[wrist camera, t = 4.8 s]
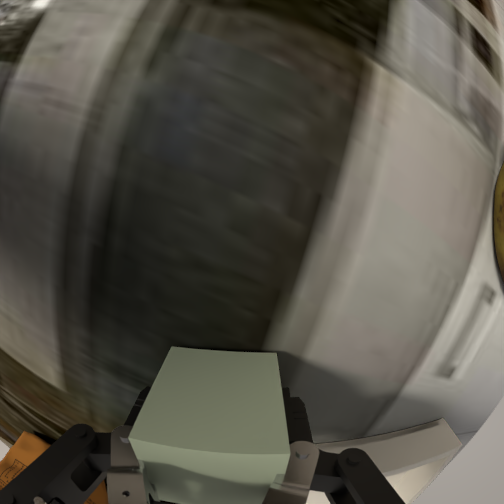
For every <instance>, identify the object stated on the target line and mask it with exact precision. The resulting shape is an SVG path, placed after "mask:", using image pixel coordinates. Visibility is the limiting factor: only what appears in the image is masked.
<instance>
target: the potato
mask: <svg viewBox="0 0 504 504" xmlns="http://www.w3.org/2000/svg"><path fill="white" fill-rule="evenodd" d="M494 238H495V247H496V255H497V260H498V264H499V268H500V272H501V275H502V279H503V282H504V163H503V165H502V167H501V170H500V173H499V176H498V179H497V183H496V188H495V199H494Z"/></svg>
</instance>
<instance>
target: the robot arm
mask: <svg viewBox="0 0 504 504" xmlns="http://www.w3.org/2000/svg"><path fill="white" fill-rule="evenodd" d="M151 388H152V387H146V388H145V389H144V390H142V391H141V392H140V394H139V396H138V398H137V400H136V402H135V405H134V406H133V408H132V410H131V412H130V414H129V416H128V418H127V420H126V422H125V424H124V425H123V426H119V427H117V428H115V429H114V430H113V431H112V432H111V433H97V432H94V430H93V428H92V427H90V426H89V425H86V424H76V425H74V426H72V427H71V428H70V429H69V430H67V431H66V432H65V433H64V434H63V435H62V436H61V437H60V438H59V439H58V440H56V441H55V442H54V443H53V444H52V445H51V446H50V447H49V448H48V449H46V450H45V451H44V452H43V453H42V454H41V455H40V456H39V457H38V458H36V459H35V460H34V461H33V462H32V463H31V464H30V465H29V466H27V467H26V468H25V469H24V470H23V471H22V472H21V473H20V474H19V475H17V476H16V477H15V478H14V479H13V480H12V481H11V482H10V483H8V484H7V485H6V486H5V487H4V488H3V489H2V490H1V491H0V504H83V503H84V502H85V501H86V500H87V499H88V497H89V496H90V495H91V494H92V493H93V492H94V491H95V489H96V488H97V487H98V486H99V485H100V483H101V482H102V481H103V480H104V479H105V478H106V476H107V493H108V504H168V503H163V502H160V500H159V498H158V494H157V489H156V487H155V485H154V484H150V482H149V479H148V475H147V470H146V465H145V463H144V461H143V460H140V459H137V457H136V455H135V452H134V450H133V448H132V445H131V443H130V441H129V438H128V437H129V435H130V432H131V430H132V428H133V426H134V424H135V422H136V419H137V417H138V415H139V413H140V411H141V409H142V407H143V404H144V402H145V400H146V398H147V396H148V394H149V392H150V390H151ZM282 395H283V402H284V409H285V416H286V424H287V431H288V439H289V446H290V458H289V461H288V465H287V469H286V472H285V474H276V477H275V479H274V481H273V483H271V485H270V487H269V489H268V492H267V494H266V496H265V498H264V500H263V502H262V504H306V501H307V498H308V495H309V491H310V490H312V491H318V492H324V493H325V495H326V497H327V498H328V500H329V502H330V504H405V502H404V501H403V500H402V498H401V497H400V496H399V495H398V493H397V492H396V491H395V490H394V488H393V487H392V486H391V484H390V483H389V482H388V481H387V479H386V478H385V477H384V475H383V474H382V473H381V471H380V470H379V469H378V467H377V466H376V465H375V464H374V462H373V461H372V460H371V458H370V457H369V456H368V454H367V453H366V452H365V451H363V450H361V449H358V448H348V449H345V450H343V451H342V452H341V453H340V454H337V453H330V452H325V451H322V450H320V449H319V448H317V446H316V445H314V443H313V440H312V435H311V431H310V426H309V422H308V419H307V413H306V409H305V404H304V403H303V402H302V401H301V399H300V398H299V397H293V398H290V393H289V388H282Z"/></svg>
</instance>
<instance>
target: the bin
mask: <svg viewBox="0 0 504 504" xmlns="http://www.w3.org/2000/svg"><path fill="white" fill-rule="evenodd" d="M314 445H316V446H317V448H319V449H320V450H322V451H325V452H330V453H337V454H340V453H341V452H342V451H343V450H345V449H348V448H358V449H361V450H363V451H365V452H366V453H367V454H368V456H369V457H370V458H371V460H372V461H373V462H374V464H375V465H376V466H377V467H378V469H379V470H380V471H381V473H382V474H383V475H384V477H385V478H386V479H387V481H388V482H389V483H390V484H391V486H392V487H393V488H394V490H395V491H396V492H397V493H398V495H399V496H400V497H401V498H402V500H403V501H404V502H405V504H411V503H412V502H413V501H414V500H415V499H416V498H417V497H418V496H419V495H420V494H421V493H422V492H423V491H424V490H425V489H426V488H427V487H428V486H429V485H430V484H431V483H432V482H433V481H434V479H435V478H436V477H437V476H438V475H439V474H440V473H441V471H442V470H443V469H444V468H445V467H446V466H447V464H448V463H449V462H450V461H451V459H452V458H453V457H454V455H455V454H456V453H457V452H458V450H459V449H460V448H461V446H462V443H461V442H460V441H459V439H458V438H457V436H456V435H455V433H454V432H453V431H452V429H451V428H450V426H449V425H448V424H447V422H446V421H445V419H444V418H442V419H439V420H436V421H433V422H430V423H426V424H423V425H419V426H416V427H412V428H408V429H404V430H400V431H396V432H392V433H387V434H382V435H377V436H372V437H366V438H360V439H354V440H347V441H339V442H331V443H321V444H314ZM306 504H330V502H329V500H328V498H327V497H326V495H325V493H324V492H318V491H312V490H310V491H309V495H308V498H307V501H306Z"/></svg>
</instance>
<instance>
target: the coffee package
mask: <svg viewBox="0 0 504 504" xmlns="http://www.w3.org/2000/svg"><path fill="white" fill-rule="evenodd" d="M50 446H51V445H50V444H49V443H47V442H46V441H44V440H43V439H41V438H40V437H38V436H36V435H34V434H31V433H28V432H26V431H24V432H23V433H22V435H21V436H20V438H19V439H18V440H17V442H16V443H15V444H14V445H13V446H12V447H11V448H10V450H9V452H8V453H7V454H6V456H5V457H4V459H3V460H2V461H1V462H0V491H1V490H2V489H3V488H4V487H5V486H6V485H7V484H8V483H10V482H11V481H12V480H13V479H14V478H15V477H16V476H17V475H19V474H20V473H21V472H22V471H23V470H24V469H25V468H26V467H27V466H29V465H30V464H31V463H32V462H33V461H34V460H35V459H36V458H38V457H39V456H40V455H41V454H42V453H43V452H44V451H45V450H46V449H48V448H49V447H50ZM83 504H108V493H107V491H106V486H105V482H104V480H103V481H102V482H101V483H100V485H99V486H98V487H97V488H96V489H95V491H94V492H93V493H92V494H91V495H90V496H89V497H88V499H87V500H86V501H85V502H84V503H83Z"/></svg>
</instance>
